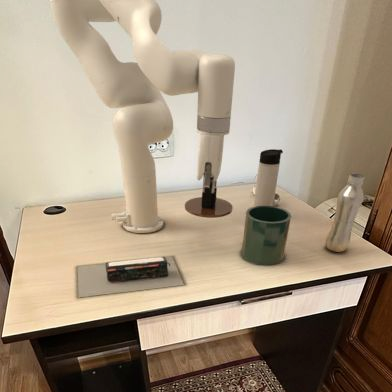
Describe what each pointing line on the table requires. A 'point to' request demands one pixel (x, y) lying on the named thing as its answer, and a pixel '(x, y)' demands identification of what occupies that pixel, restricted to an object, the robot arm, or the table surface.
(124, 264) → the grey board with block
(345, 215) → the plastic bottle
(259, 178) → the travel mug
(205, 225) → the table surface
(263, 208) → the green ceramic cup
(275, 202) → the woman figurine
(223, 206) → the lid
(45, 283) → the table surface
